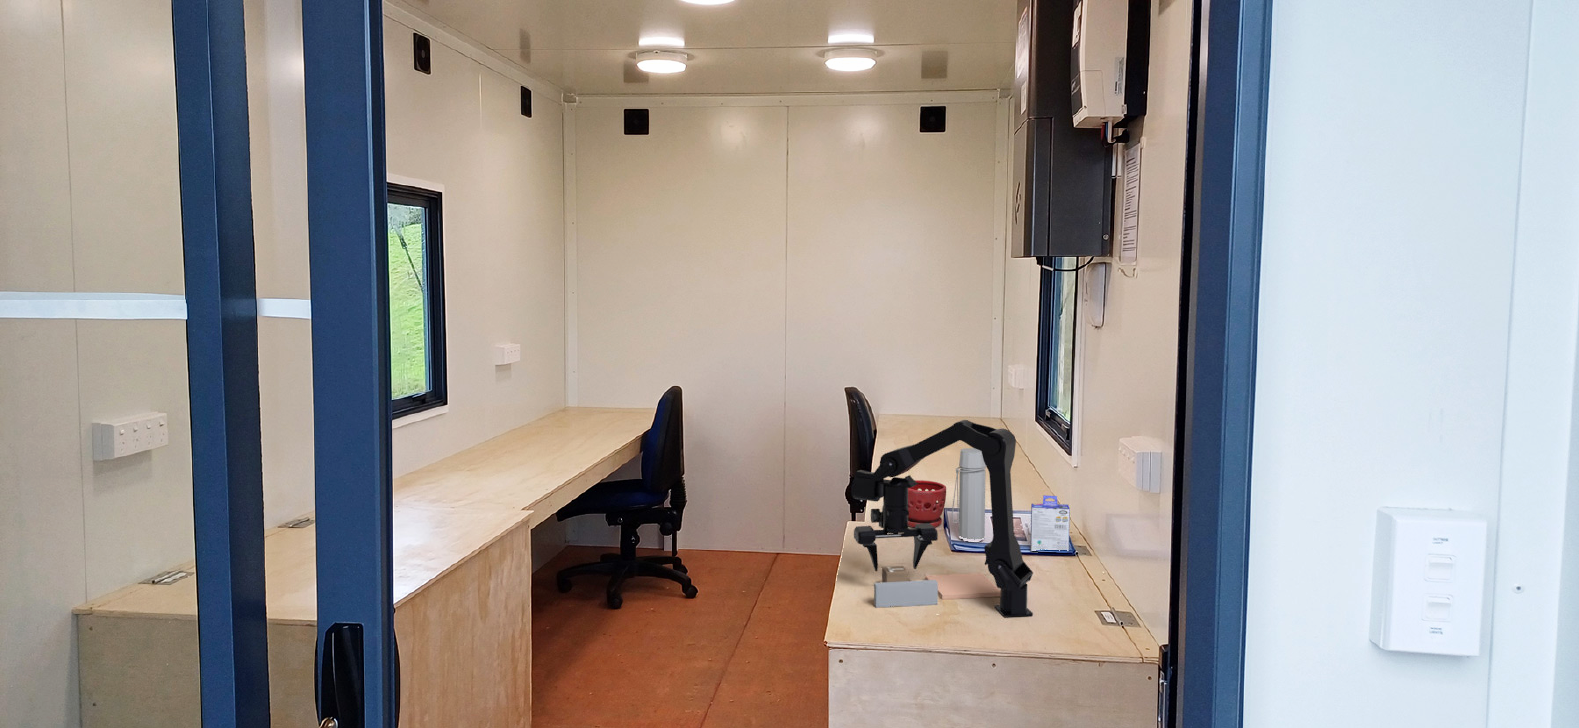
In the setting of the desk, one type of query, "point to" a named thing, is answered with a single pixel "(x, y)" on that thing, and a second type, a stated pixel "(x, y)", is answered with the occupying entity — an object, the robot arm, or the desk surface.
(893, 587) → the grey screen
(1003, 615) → the robot arm
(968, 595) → the mat
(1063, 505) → the ink cartridge box
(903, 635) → the desk surface
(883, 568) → the walnut cube
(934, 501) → the plant pot
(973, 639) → the desk surface
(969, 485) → the water bottle
